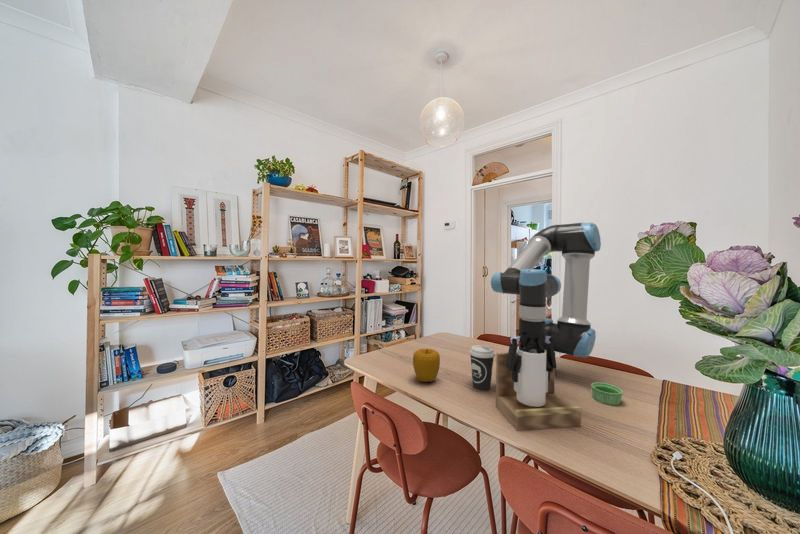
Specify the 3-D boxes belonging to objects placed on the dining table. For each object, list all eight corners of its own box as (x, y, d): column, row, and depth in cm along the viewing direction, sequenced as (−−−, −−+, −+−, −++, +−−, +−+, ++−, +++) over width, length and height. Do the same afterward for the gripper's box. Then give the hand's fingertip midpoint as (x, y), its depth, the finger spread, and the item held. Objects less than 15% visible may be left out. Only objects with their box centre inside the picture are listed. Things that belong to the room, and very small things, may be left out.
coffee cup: (496, 394, 104) (496, 353, 103) (469, 391, 105) (469, 351, 105) (492, 382, 113) (493, 345, 113) (468, 380, 115) (468, 344, 114)
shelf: (551, 403, 97) (552, 351, 97) (580, 426, 84) (582, 365, 83) (495, 406, 95) (496, 352, 94) (516, 430, 82) (518, 368, 81)
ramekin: (615, 409, 94) (615, 396, 94) (585, 397, 101) (586, 385, 101) (626, 402, 99) (627, 389, 98) (597, 391, 106) (598, 380, 106)
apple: (420, 388, 108) (420, 354, 107) (408, 377, 118) (408, 346, 117) (445, 383, 112) (445, 351, 112) (431, 373, 122) (431, 343, 122)
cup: (516, 403, 86) (517, 351, 86) (516, 392, 94) (516, 344, 94) (546, 408, 84) (548, 355, 83) (543, 396, 91) (544, 347, 91)
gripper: (555, 315, 93) (553, 384, 94) (494, 317, 91) (493, 387, 91) (571, 320, 86) (570, 395, 86) (505, 322, 83) (504, 398, 84)
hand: (530, 391), depth 89 cm, fingers closed on cup, 8 cm apart
